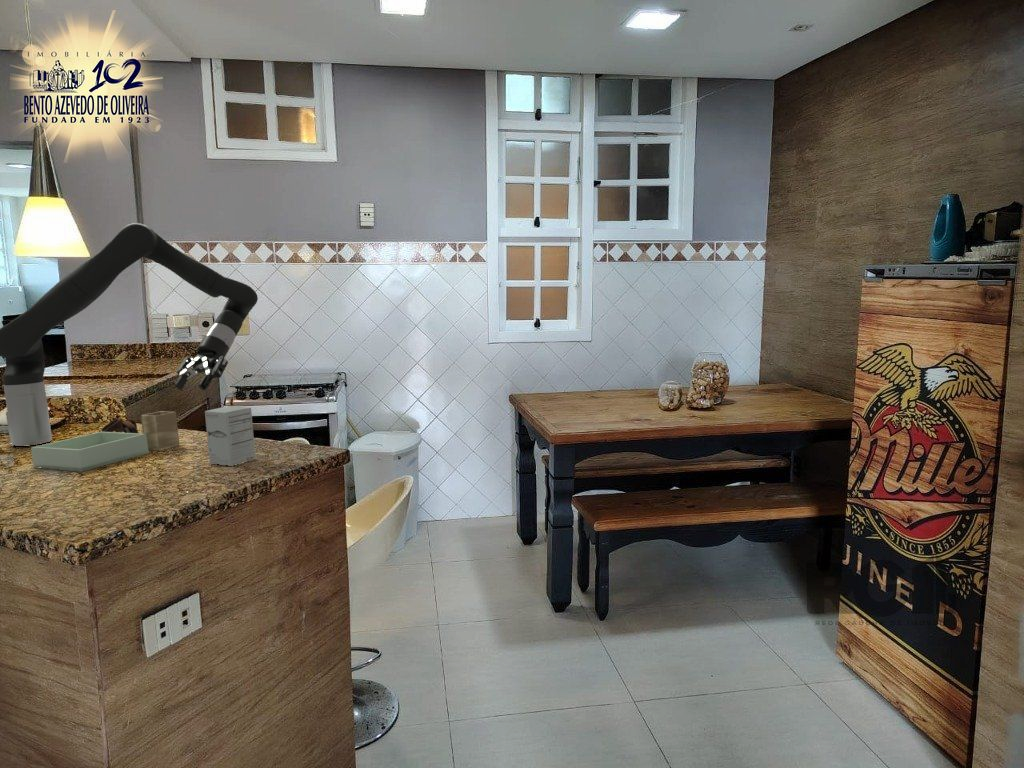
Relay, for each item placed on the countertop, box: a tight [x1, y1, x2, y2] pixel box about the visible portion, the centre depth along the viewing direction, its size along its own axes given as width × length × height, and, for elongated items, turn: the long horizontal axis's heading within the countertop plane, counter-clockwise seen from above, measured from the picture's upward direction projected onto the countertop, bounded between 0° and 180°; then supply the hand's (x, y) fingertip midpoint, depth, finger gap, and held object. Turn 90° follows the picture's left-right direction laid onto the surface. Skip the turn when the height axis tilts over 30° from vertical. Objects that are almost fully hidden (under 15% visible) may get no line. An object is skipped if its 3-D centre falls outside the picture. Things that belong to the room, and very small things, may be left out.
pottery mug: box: [98, 417, 140, 433], centre depth 186 cm, size 12×10×8 cm
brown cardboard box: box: [140, 410, 180, 451], centre depth 178 cm, size 6×6×9 cm
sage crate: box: [30, 431, 149, 472], centre depth 167 cm, size 16×18×5 cm
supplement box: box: [204, 405, 256, 467], centre depth 158 cm, size 7×7×13 cm
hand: (189, 388), depth 187 cm, fingers open, 8 cm apart
